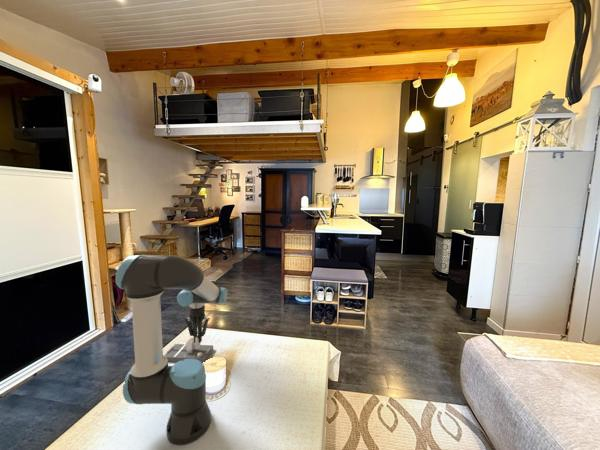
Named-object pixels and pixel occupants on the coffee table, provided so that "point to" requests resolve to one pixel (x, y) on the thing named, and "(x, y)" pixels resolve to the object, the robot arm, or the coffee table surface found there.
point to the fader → (190, 346)
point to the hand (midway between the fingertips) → (197, 347)
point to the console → (180, 353)
